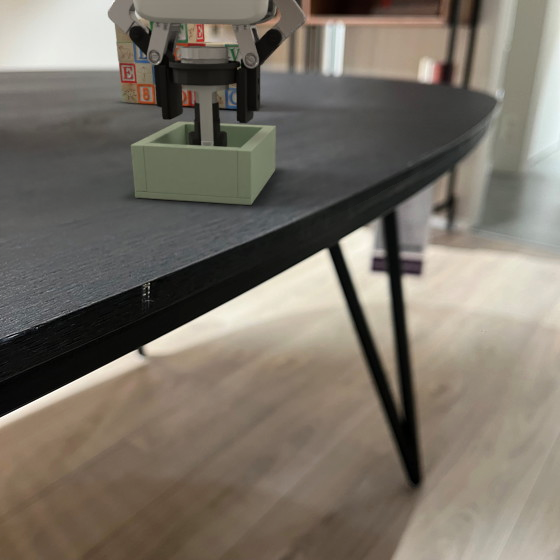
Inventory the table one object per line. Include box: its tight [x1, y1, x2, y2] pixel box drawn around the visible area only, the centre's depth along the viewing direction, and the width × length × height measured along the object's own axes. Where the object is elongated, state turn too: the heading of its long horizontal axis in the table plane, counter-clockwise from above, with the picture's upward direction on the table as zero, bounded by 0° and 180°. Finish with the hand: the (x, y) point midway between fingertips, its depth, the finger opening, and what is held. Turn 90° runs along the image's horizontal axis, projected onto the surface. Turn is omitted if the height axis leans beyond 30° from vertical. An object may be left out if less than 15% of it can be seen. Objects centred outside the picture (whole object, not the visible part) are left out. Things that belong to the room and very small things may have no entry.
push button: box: [169, 46, 240, 147], centre depth 45 cm, size 7×5×10 cm
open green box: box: [130, 121, 277, 206], centre depth 47 cm, size 9×11×4 cm
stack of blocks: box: [114, 18, 242, 110], centre depth 89 cm, size 21×6×12 cm, turn 71°
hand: (208, 116), depth 45 cm, fingers closed on push button, 5 cm apart
